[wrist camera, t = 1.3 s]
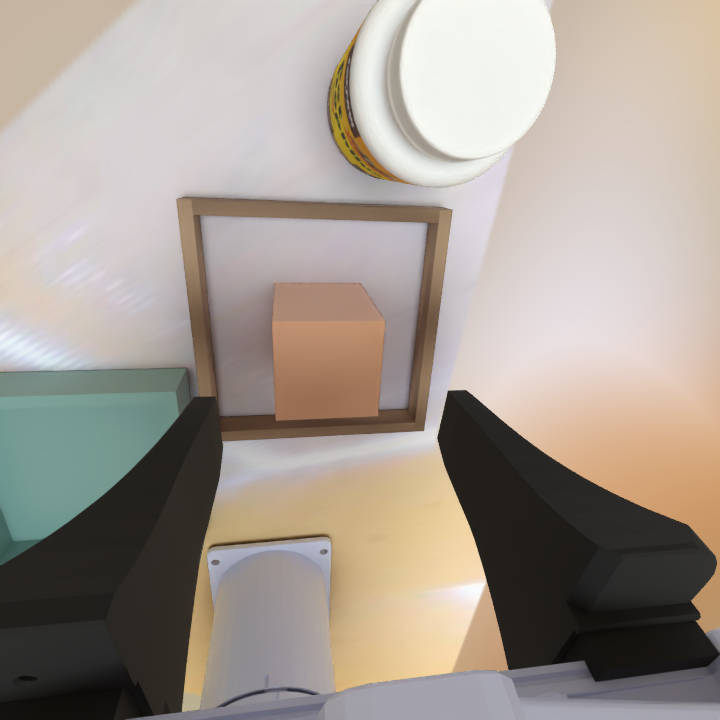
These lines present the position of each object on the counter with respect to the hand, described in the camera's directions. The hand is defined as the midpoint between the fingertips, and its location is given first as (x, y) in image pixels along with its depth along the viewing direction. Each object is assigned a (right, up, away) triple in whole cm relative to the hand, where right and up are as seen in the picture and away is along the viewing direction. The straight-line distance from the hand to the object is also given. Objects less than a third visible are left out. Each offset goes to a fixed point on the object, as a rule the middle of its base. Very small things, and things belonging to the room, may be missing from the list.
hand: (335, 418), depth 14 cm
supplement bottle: (+2, +13, +6) cm, 14 cm away
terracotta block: (-1, +4, +9) cm, 10 cm away
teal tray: (-14, -4, +11) cm, 18 cm away
